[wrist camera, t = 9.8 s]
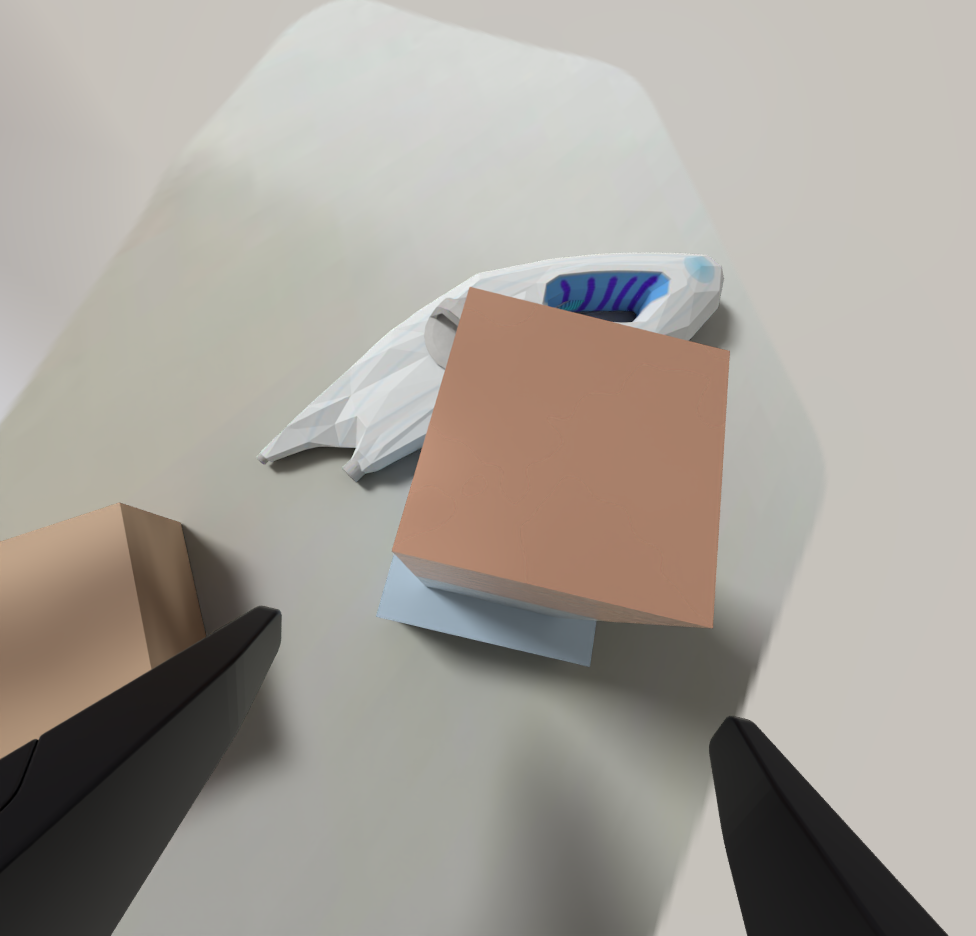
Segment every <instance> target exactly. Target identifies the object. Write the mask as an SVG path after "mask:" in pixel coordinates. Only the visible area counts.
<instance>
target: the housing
mask: <svg viewBox="0 0 976 936" xmlns="http://www.w3.org/2000/svg"><path fill="white" fill-rule="evenodd" d="M729 356H730V351H727V350H723V349H719V348H715V347H711V346H707V345H703V344H699V343H695V342H691V341H687V340H683V339H679V338H675V337H671V336H667V335H663V334H659V333H655V332H651V331H647V330H643V329H639V328H635V327H631V326H626V325H622V324H618V323H614V322H610V321H606V320H602V319H598V318H594V317H590V316H586V315H582V314H578V313H574V312H570V311H566V310H562V309H558V308H554V307H550V306H546V305H542V304H538V303H534V302H530V301H525V300H521V299H517V298H513V297H509V296H505V295H501V294H497V293H493V292H489V291H485V290H481V289H477V288H473V287H469V290H468V294H467V297H466V300H465V304H464V307H463V311H462V314H461V317H460V321H459V324H458V328H457V331H456V334H455V338H454V341H453V345H452V348H451V351H450V355H449V358H448V362H447V365H446V368H445V372H444V375H443V379H442V382H441V385H440V389H439V392H438V396H437V399H436V402H435V406H434V409H433V413H432V416H431V419H430V423H429V426H428V430H427V433H426V436H425V440H424V443H423V447H422V450H421V453H420V457H419V460H418V464H417V467H416V470H415V474H414V477H413V481H412V484H411V487H410V491H409V494H408V497H407V501H406V504H405V508H404V511H403V514H402V518H401V521H400V525H399V528H398V531H397V535H396V538H395V542H394V545H393V548H392V552H393V553H394V554H395V555H396V556H397V557H398V558H399V559H400V560H401V561H402V562H403V563H404V564H405V566H406V567H407V568H408V569H409V570H410V571H411V572H412V573H413V574H414V575H415V576H416V577H417V578H418V579H419V580H420V581H421V582H422V583H423V585H424V586H427V587H431V588H435V589H439V590H443V591H448V592H452V593H456V594H460V595H464V596H468V597H473V598H477V599H481V600H485V601H489V602H493V603H498V604H502V605H506V606H510V607H514V608H518V609H523V610H527V611H531V612H535V613H539V614H543V615H547V616H552V617H556V618H563V619H578V620H594V621H609V622H624V623H639V624H654V625H669V626H684V627H700V628H713V616H714V600H715V584H716V567H717V551H718V535H719V519H720V502H721V486H722V470H723V454H724V437H725V421H726V405H727V389H728V372H729Z"/></svg>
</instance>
